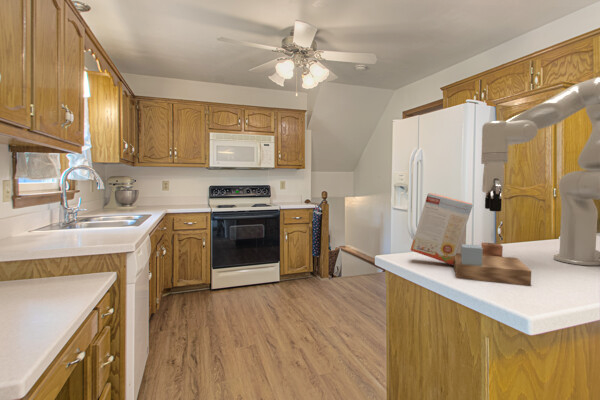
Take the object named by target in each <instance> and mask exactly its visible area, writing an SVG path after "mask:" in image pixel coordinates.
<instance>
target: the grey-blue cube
mask: <svg viewBox="0 0 600 400" xmlns="http://www.w3.org/2000/svg"><path fill="white" fill-rule="evenodd" d="M482 250H483V249H482V247H481V245H479V244H468V243H466V244H461V262H462V264H464V265H475V266H482Z"/></svg>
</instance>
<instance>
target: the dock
mask: <svg viewBox="0 0 600 400" xmlns="http://www.w3.org/2000/svg"><path fill="white" fill-rule="evenodd" d="M453 268H454V269H453V270H454V272H455V278H456V279H464V280H465V279H466V280H473V281H474V280H475V281H480V282H481V281H482V282H492V283H502V284H510V285H518V286H519V285H520V286H527V287H528V286H530V287H531V286H532V285H531V284H532V270H531V269H530V268H528V266H527V265H526V264H524V262H522V261H521V260H520V259H519V258H518V257H509V256H502V257H498V256H486V255H482V266H475V265H464V264H462V262H461V253H457V254H456V255H454V263H453Z"/></svg>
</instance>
